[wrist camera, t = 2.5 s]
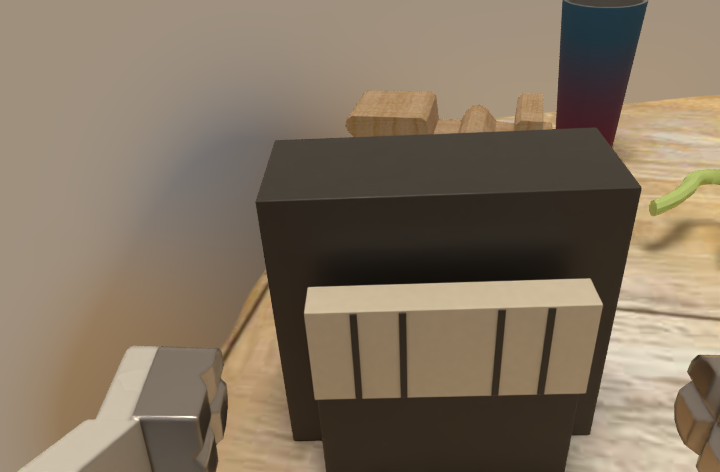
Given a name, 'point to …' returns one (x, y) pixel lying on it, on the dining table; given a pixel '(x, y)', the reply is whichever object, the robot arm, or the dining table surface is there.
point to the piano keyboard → (452, 338)
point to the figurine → (684, 190)
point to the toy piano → (442, 275)
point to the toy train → (434, 116)
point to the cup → (596, 62)
